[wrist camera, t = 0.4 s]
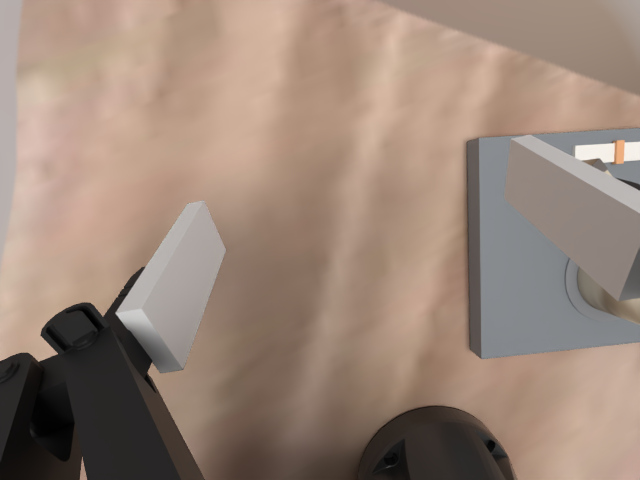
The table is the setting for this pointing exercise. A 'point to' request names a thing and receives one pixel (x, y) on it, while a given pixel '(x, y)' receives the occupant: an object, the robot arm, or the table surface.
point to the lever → (594, 293)
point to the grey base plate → (534, 256)
